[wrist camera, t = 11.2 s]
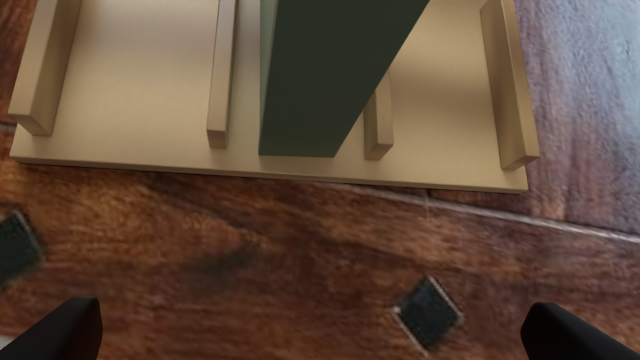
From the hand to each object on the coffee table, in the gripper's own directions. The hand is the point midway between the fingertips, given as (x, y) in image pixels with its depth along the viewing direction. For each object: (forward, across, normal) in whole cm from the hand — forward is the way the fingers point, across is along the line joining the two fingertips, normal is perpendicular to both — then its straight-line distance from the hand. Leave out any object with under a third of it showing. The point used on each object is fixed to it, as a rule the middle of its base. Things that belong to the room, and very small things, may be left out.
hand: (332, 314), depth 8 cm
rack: (+16, 0, -2) cm, 16 cm away
